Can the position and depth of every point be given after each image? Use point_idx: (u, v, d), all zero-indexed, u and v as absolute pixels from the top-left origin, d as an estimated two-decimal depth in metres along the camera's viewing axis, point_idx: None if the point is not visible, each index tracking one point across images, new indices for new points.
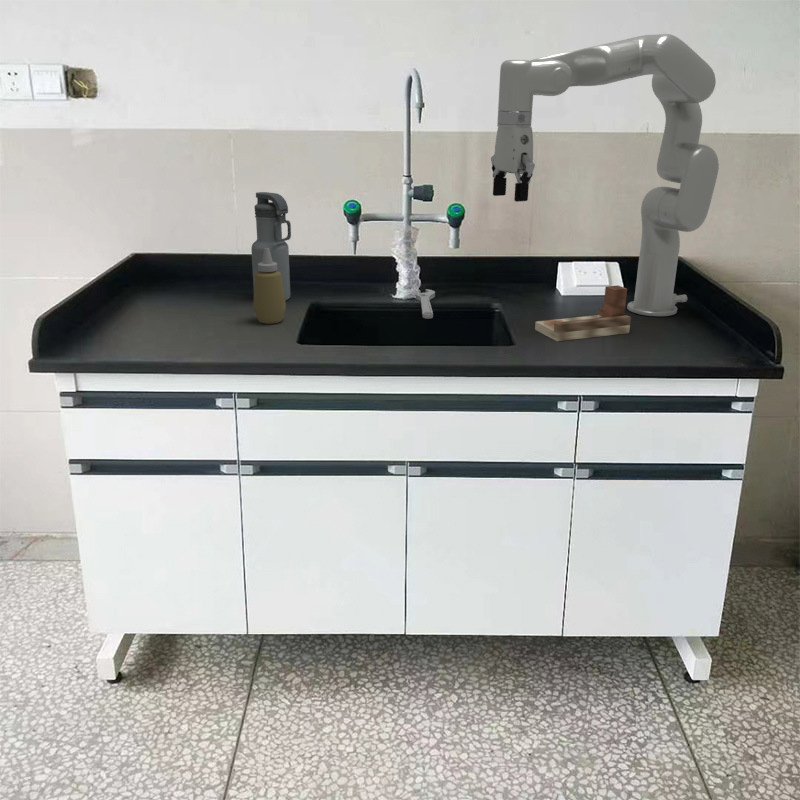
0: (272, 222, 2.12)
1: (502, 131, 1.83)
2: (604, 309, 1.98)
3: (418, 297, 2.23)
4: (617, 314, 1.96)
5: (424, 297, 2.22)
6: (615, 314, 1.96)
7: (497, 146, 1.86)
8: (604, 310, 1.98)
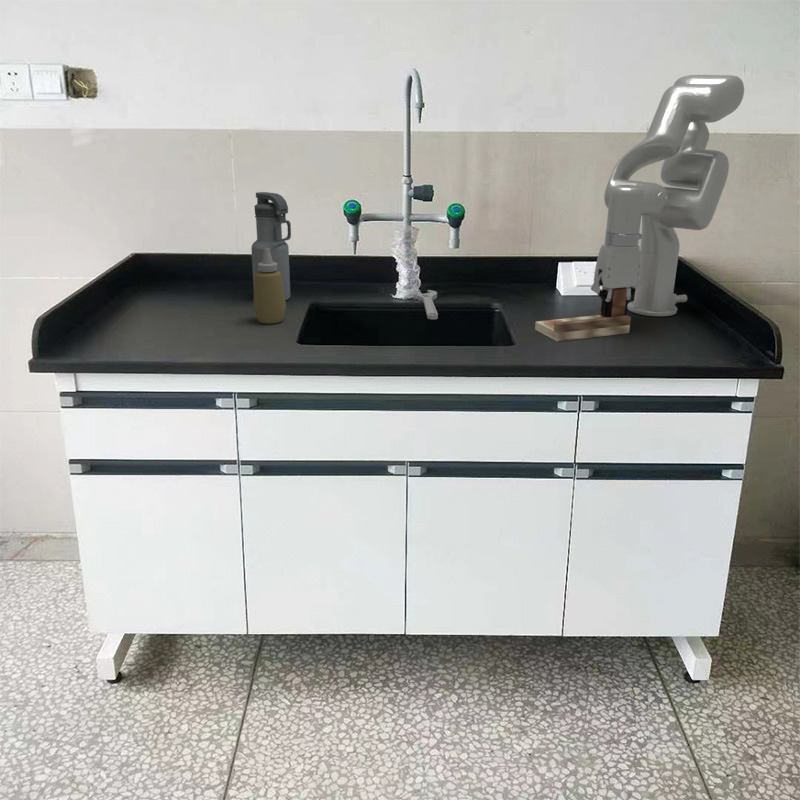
0: (272, 222, 2.12)
1: (624, 252, 1.90)
2: None
3: (421, 298, 2.22)
4: (617, 314, 1.96)
5: (427, 298, 2.21)
6: (615, 314, 1.96)
7: (614, 267, 1.90)
8: None
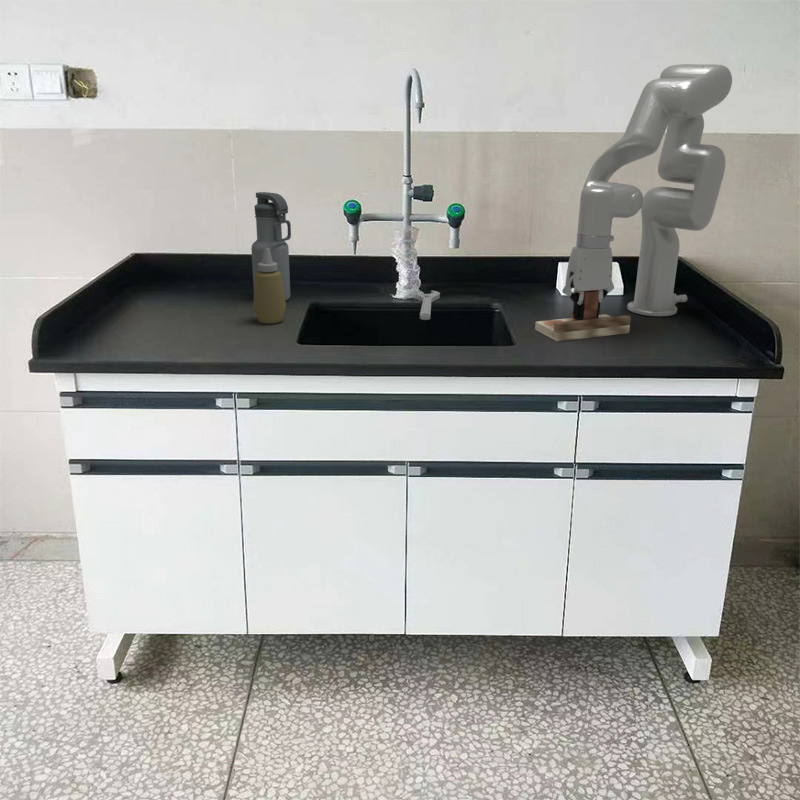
0: (272, 222, 2.12)
1: (595, 255, 1.87)
2: None
3: (421, 298, 2.22)
4: (589, 317, 1.93)
5: (427, 298, 2.20)
6: (587, 317, 1.93)
7: (585, 269, 1.88)
8: None
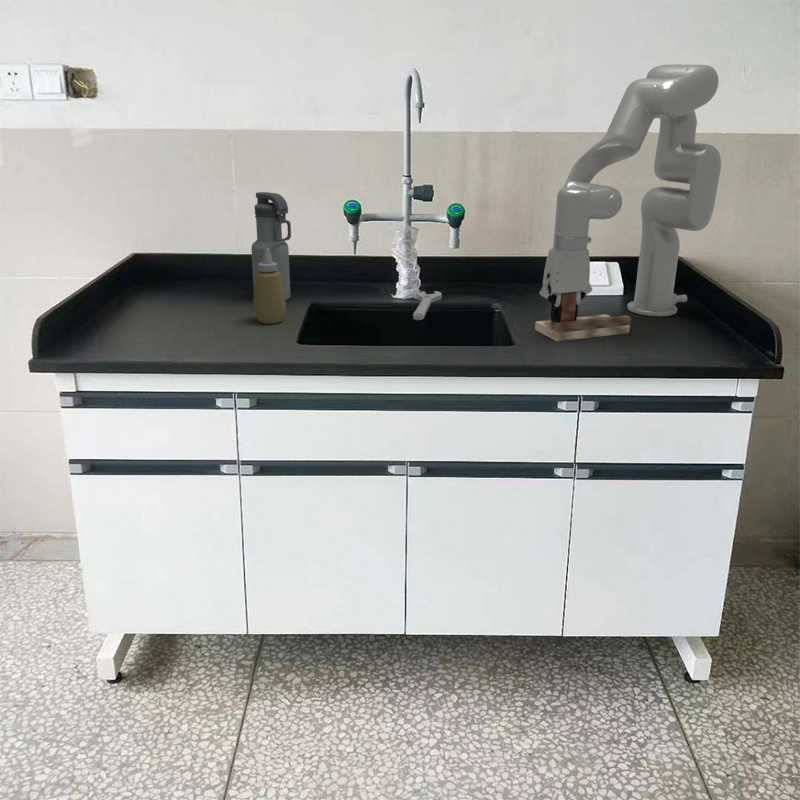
0: (272, 222, 2.12)
1: (572, 256, 1.85)
2: None
3: (422, 298, 2.22)
4: (567, 319, 1.91)
5: (427, 299, 2.20)
6: (565, 319, 1.91)
7: (562, 271, 1.86)
8: None
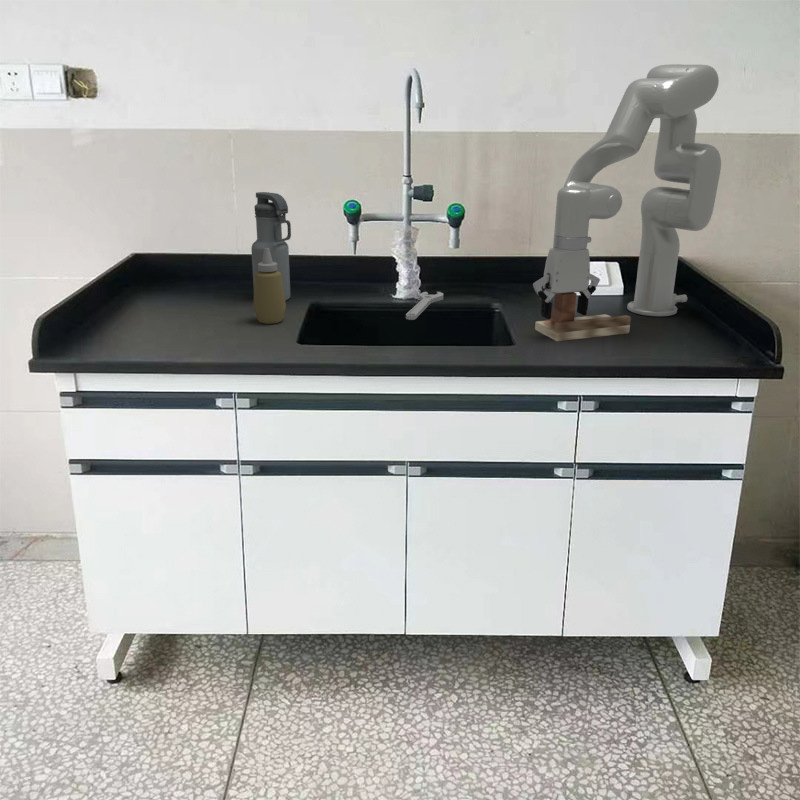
0: (272, 222, 2.12)
1: (572, 256, 1.85)
2: (554, 314, 1.93)
3: (422, 298, 2.21)
4: (567, 319, 1.91)
5: (426, 299, 2.20)
6: (565, 319, 1.91)
7: (562, 271, 1.86)
8: (554, 315, 1.93)
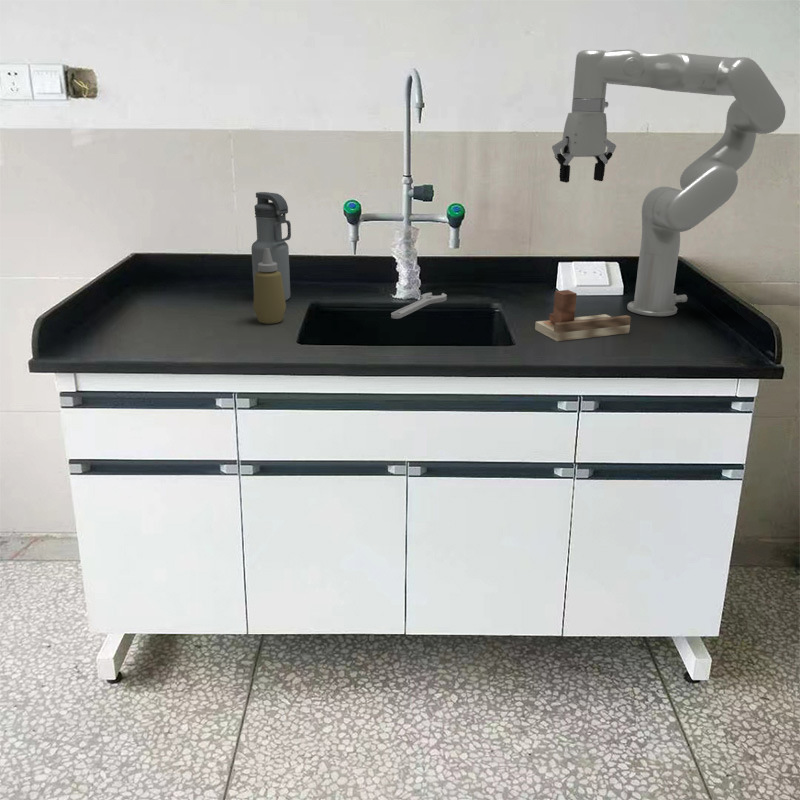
0: (272, 222, 2.12)
1: (590, 118, 1.92)
2: (554, 314, 1.93)
3: None
4: (567, 319, 1.91)
5: (425, 299, 2.19)
6: (565, 319, 1.91)
7: (580, 133, 1.93)
8: (554, 315, 1.93)
